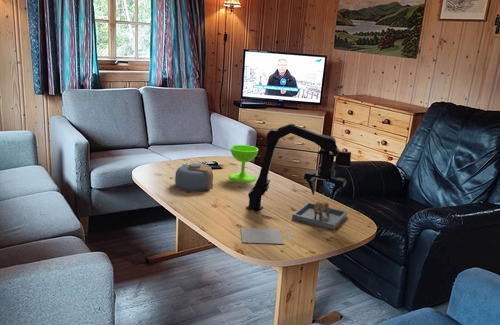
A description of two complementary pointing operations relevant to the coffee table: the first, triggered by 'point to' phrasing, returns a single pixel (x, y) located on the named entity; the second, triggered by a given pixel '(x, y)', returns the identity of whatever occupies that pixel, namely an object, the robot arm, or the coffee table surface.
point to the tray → (327, 221)
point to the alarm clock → (194, 177)
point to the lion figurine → (320, 209)
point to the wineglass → (243, 162)
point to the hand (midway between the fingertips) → (322, 196)
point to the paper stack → (262, 235)
